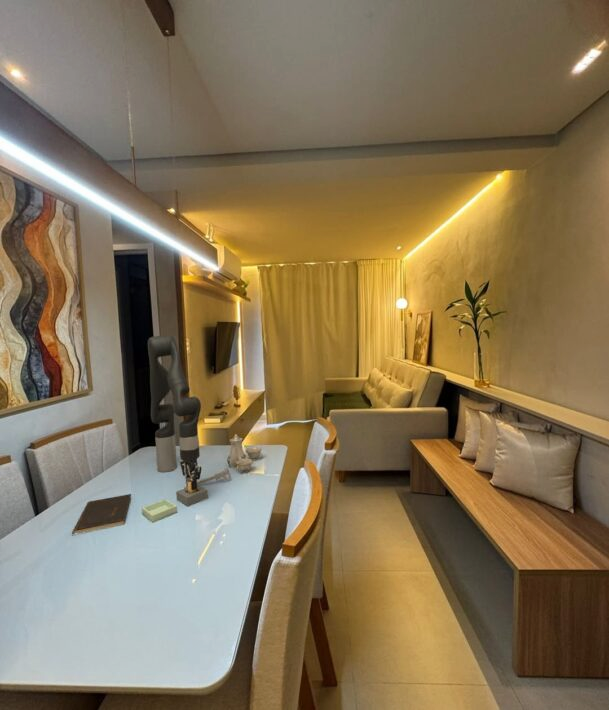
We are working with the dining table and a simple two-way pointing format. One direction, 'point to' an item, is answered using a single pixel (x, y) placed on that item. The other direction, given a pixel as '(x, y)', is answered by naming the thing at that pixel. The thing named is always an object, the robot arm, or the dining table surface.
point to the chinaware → (241, 455)
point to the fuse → (190, 486)
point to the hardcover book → (103, 514)
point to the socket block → (192, 496)
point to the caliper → (215, 477)
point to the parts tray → (159, 510)
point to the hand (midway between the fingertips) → (191, 487)
